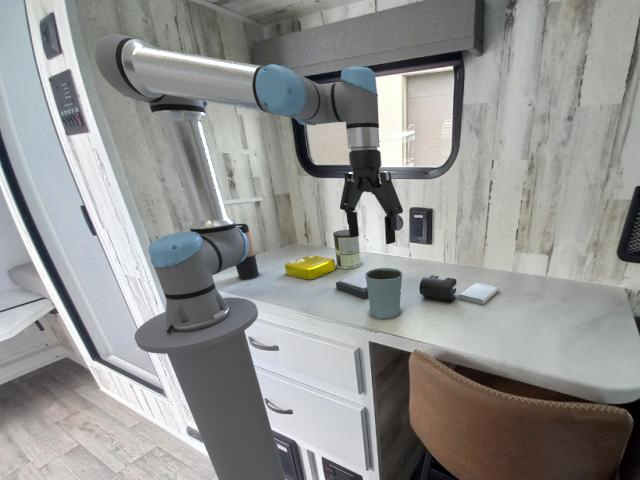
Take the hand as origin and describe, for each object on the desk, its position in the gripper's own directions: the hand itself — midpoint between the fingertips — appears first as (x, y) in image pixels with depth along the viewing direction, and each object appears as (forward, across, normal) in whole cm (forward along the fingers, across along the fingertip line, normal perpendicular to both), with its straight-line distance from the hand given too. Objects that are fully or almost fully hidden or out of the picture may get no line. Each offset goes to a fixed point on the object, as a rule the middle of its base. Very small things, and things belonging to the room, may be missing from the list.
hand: (371, 239), depth 80 cm
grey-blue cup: (+22, -2, -2) cm, 22 cm away
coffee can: (+21, +42, -25) cm, 53 cm away
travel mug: (+21, +63, +8) cm, 67 cm away
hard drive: (+22, -17, -29) cm, 40 cm away
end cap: (+22, -8, -19) cm, 30 cm away
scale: (+21, +18, -11) cm, 30 cm away
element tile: (+21, +47, -10) cm, 53 cm away
